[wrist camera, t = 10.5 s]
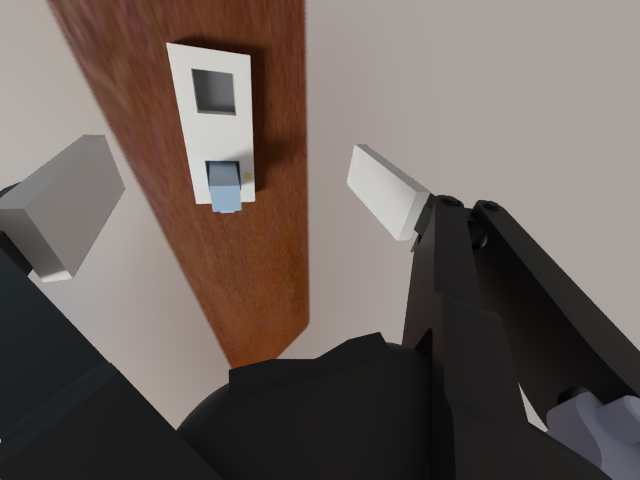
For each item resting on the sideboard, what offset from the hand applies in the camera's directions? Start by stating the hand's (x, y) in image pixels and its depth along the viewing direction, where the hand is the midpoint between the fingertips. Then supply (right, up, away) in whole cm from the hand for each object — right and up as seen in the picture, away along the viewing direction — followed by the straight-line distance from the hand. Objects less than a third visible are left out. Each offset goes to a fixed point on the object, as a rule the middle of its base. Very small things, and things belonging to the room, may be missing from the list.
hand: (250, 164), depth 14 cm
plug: (-11, +7, +25) cm, 28 cm away
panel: (-11, +12, +22) cm, 27 cm away
